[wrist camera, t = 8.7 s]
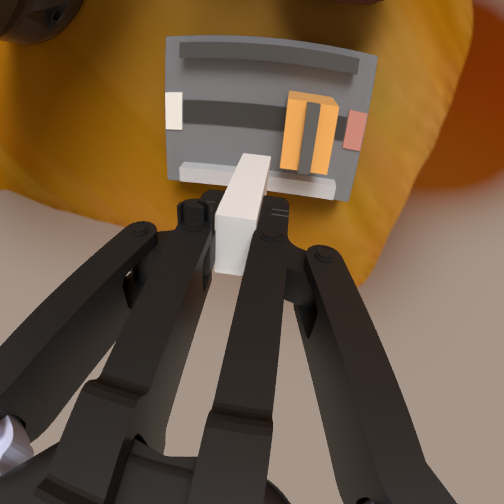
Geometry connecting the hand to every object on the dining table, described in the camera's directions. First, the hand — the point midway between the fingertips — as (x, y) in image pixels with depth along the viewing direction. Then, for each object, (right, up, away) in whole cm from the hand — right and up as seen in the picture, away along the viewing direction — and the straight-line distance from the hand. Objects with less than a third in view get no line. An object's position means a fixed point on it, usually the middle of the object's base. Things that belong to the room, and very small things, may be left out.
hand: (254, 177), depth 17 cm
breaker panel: (+1, +11, +14) cm, 19 cm away
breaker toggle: (+5, +8, +11) cm, 14 cm away
